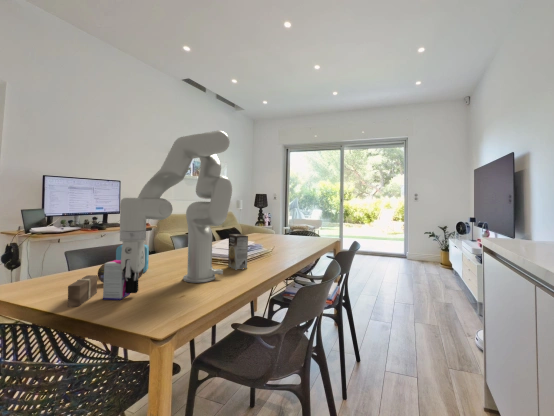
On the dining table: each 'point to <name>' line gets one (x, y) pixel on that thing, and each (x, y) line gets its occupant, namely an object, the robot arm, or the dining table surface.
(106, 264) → the supplement box
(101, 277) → the tin
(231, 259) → the coffee box
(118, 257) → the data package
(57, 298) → the dining table surface
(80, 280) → the brown rectangular block
